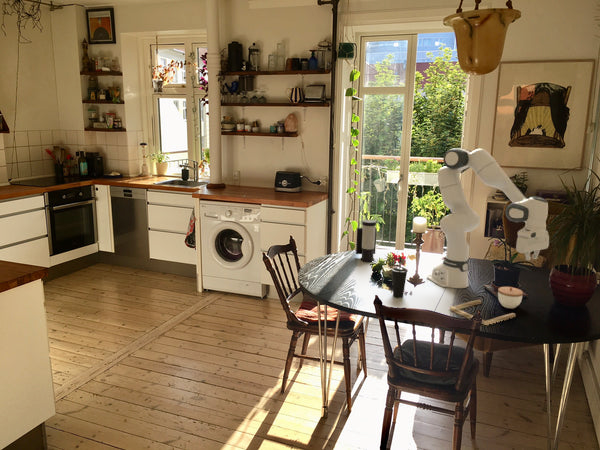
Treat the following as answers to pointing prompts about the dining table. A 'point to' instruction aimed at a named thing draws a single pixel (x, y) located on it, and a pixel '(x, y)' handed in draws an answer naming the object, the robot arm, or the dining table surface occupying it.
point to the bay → (467, 315)
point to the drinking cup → (399, 280)
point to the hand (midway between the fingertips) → (531, 259)
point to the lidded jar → (509, 296)
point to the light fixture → (366, 240)
